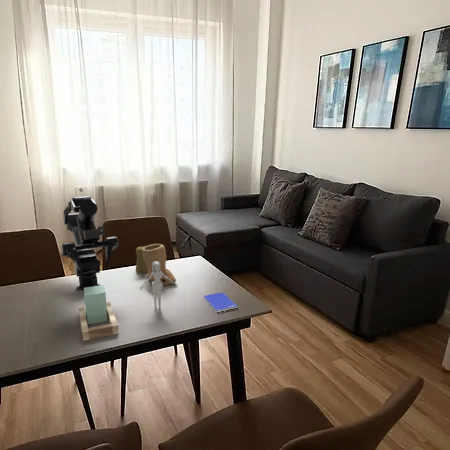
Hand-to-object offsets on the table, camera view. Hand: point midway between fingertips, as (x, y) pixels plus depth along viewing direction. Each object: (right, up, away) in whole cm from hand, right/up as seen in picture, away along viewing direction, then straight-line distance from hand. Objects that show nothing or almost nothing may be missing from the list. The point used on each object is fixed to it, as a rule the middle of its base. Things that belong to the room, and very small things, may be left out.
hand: (95, 268), depth 127 cm
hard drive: (+43, -14, +7) cm, 46 cm away
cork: (+9, -5, +35) cm, 37 cm away
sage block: (+3, -15, -8) cm, 17 cm away
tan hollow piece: (+17, -8, +26) cm, 32 cm away
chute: (+5, -17, -10) cm, 21 cm away
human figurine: (+22, -15, +1) cm, 26 cm away
